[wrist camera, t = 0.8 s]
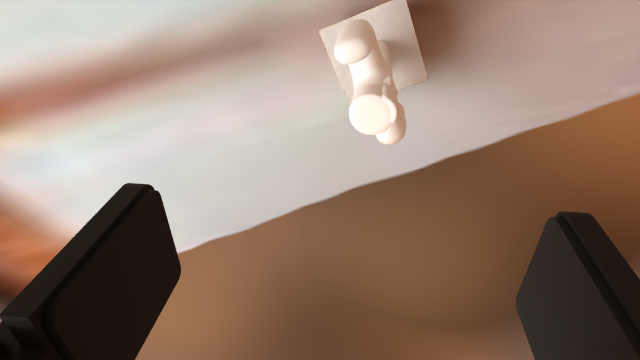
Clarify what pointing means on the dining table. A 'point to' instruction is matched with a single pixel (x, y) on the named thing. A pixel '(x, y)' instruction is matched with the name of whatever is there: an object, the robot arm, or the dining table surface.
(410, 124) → the dining table surface
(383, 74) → the figurine
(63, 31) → the dining table surface
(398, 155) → the dining table surface
